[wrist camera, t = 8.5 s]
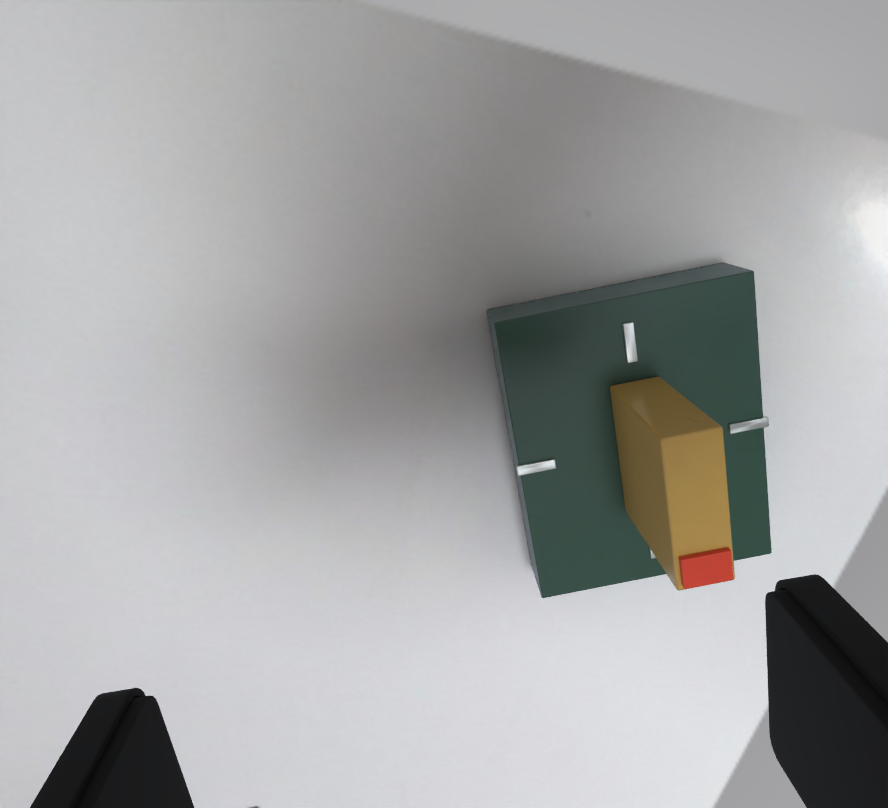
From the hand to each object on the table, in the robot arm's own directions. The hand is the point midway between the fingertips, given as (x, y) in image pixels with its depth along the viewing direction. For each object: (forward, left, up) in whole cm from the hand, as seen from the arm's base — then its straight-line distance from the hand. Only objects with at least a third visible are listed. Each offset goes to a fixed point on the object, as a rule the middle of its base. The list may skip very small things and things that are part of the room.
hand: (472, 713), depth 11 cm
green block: (+3, +7, -18) cm, 20 cm away
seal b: (+3, +7, -15) cm, 17 cm away
